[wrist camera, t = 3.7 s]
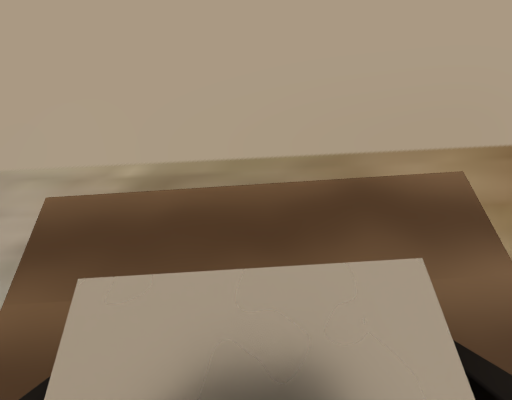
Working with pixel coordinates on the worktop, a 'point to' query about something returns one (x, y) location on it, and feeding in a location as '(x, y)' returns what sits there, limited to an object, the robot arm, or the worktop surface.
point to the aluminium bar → (260, 336)
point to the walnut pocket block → (259, 251)
